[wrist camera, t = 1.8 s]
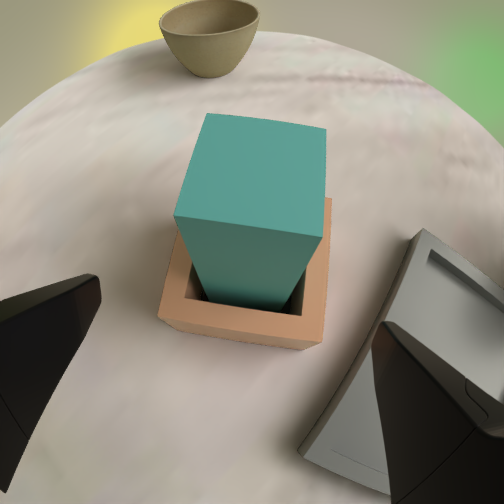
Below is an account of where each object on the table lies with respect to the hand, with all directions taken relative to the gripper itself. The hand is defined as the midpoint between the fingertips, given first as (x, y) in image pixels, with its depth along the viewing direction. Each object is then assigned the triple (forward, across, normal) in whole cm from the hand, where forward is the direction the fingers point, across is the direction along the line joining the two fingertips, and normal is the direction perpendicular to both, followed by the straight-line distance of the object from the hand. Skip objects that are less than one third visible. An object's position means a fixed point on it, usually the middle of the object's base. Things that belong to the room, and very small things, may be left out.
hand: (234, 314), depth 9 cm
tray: (+7, -16, +9) cm, 20 cm away
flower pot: (+28, +8, -12) cm, 31 cm away
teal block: (+11, 0, +5) cm, 12 cm away
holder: (+11, 0, +5) cm, 12 cm away
